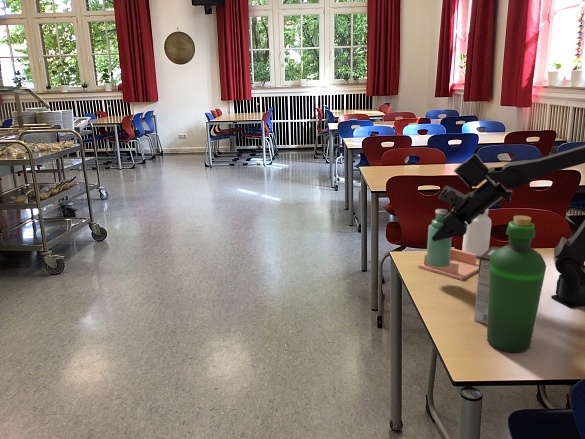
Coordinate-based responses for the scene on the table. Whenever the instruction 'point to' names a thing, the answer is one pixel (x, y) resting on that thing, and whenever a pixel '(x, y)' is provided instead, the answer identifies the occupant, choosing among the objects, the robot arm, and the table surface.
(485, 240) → the pill bottle
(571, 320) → the table surface
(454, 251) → the u rest
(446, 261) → the bottle
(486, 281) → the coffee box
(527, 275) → the bottle
